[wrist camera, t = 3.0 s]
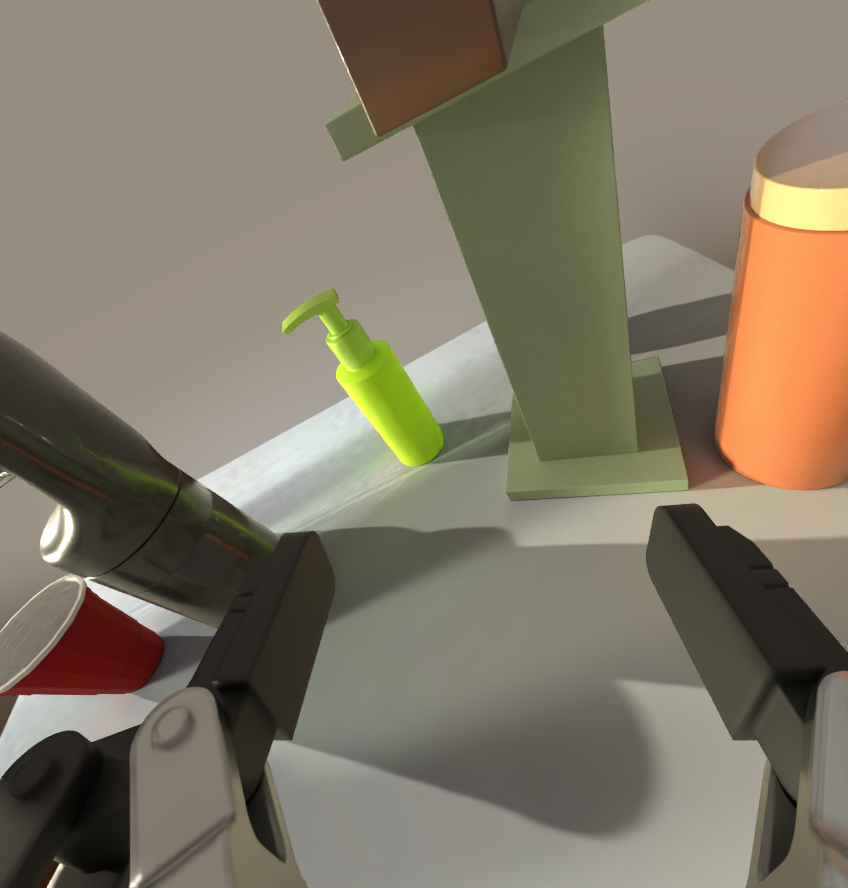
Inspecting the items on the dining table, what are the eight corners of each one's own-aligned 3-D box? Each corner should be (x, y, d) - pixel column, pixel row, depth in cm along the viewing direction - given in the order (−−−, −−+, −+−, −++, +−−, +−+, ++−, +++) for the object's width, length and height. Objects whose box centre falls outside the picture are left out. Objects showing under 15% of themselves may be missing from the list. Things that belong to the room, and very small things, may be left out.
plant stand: (688, 490, 31) (730, -113, 10) (509, 501, 37) (315, 132, 17) (659, 367, 39) (650, -105, 19) (516, 392, 45) (392, 57, 25)
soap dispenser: (386, 445, 49) (278, 308, 35) (436, 418, 48) (345, 268, 35) (396, 479, 45) (278, 339, 31) (450, 450, 44) (354, 293, 30)
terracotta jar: (699, 469, 32) (724, 207, 18) (730, 387, 35) (773, 110, 21) (863, 507, 26) (1096, 161, 12) (883, 404, 29) (1086, 35, 15)
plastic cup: (197, 601, 46) (96, 558, 38) (160, 712, 39) (24, 689, 31) (130, 619, 49) (23, 583, 41) (83, 726, 42) (-58, 708, 34)
